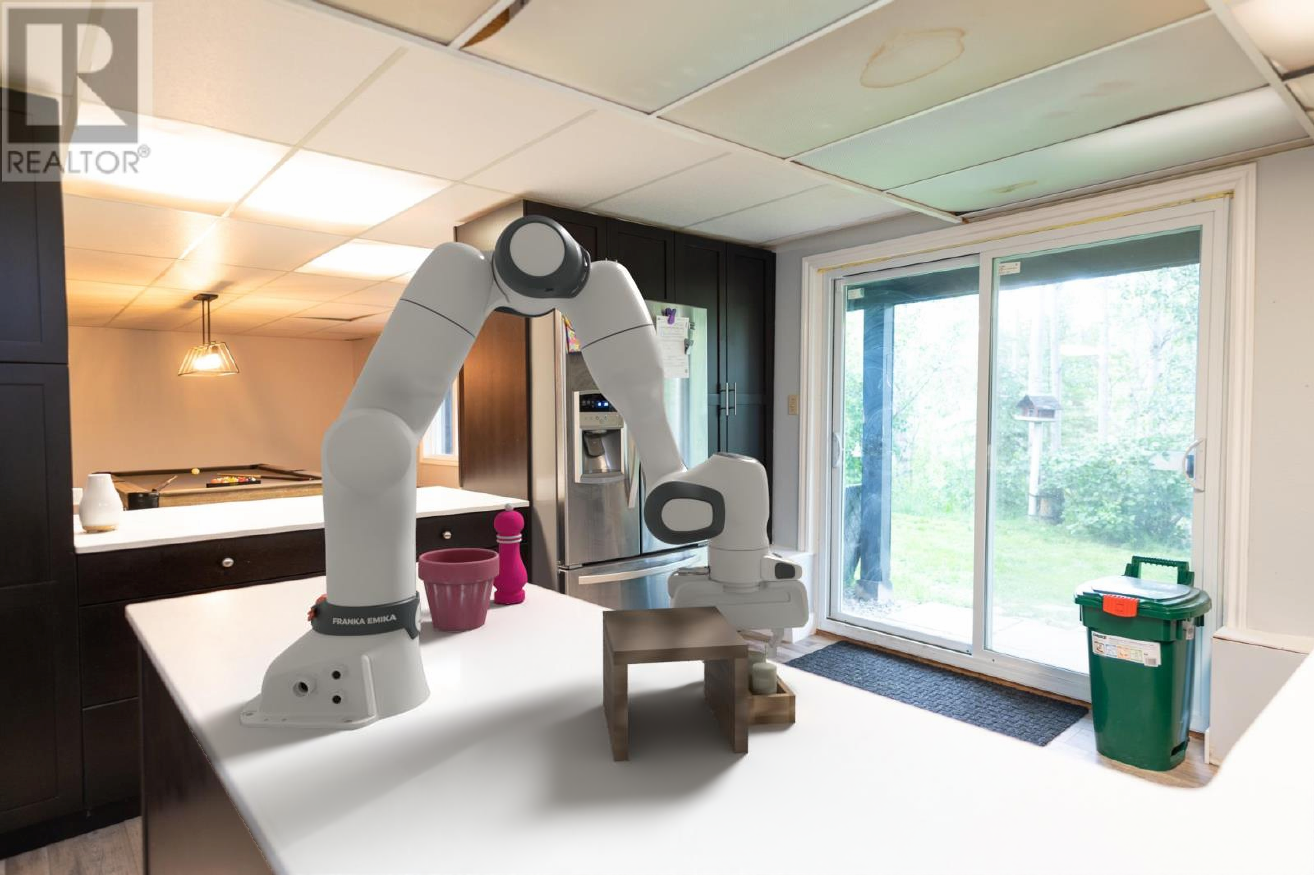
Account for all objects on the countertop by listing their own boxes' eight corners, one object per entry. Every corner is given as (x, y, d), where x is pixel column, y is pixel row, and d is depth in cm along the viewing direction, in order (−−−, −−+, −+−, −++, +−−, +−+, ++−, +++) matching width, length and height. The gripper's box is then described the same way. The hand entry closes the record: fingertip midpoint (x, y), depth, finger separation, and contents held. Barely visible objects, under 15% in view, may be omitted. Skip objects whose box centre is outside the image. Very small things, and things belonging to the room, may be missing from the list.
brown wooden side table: (614, 765, 77) (613, 651, 77) (603, 705, 93) (602, 611, 93) (748, 755, 79) (748, 644, 79) (715, 698, 95) (715, 606, 95)
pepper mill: (519, 605, 142) (518, 505, 141) (485, 603, 143) (484, 504, 143) (532, 596, 149) (532, 501, 148) (500, 594, 150) (499, 500, 150)
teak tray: (748, 726, 87) (748, 676, 86) (714, 673, 104) (714, 631, 104) (795, 723, 87) (795, 673, 87) (753, 671, 105) (753, 629, 105)
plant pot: (516, 621, 131) (515, 552, 131) (457, 641, 119) (456, 566, 119) (462, 609, 139) (461, 544, 138) (401, 628, 127) (400, 557, 126)
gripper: (671, 572, 98) (672, 672, 98) (813, 566, 101) (813, 663, 101) (663, 563, 104) (664, 656, 104) (797, 557, 107) (797, 648, 108)
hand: (738, 659), depth 103 cm, fingers open, 8 cm apart
